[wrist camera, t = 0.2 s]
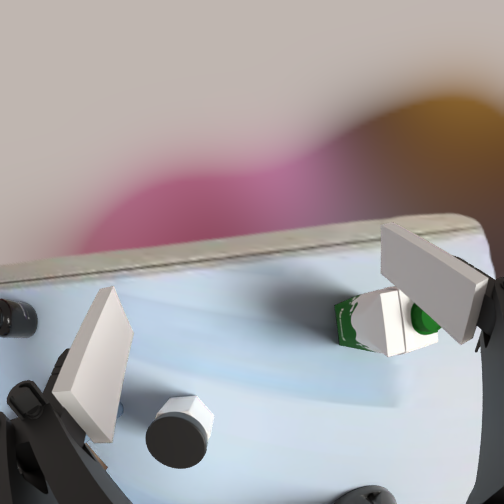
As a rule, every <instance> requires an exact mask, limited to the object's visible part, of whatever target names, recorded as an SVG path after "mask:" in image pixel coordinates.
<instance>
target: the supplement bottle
mask: <svg viewBox="0 0 504 504" xmlns="http://www.w3.org/2000/svg"><path fill="white" fill-rule="evenodd" d="M37 324H38V320H37V315H36V312H35V310H34V308H33V307H32V306H31V305H29V304H27V303H23V302H17V301H12V300H7V299H0V337H2V338H29V337H31V336H32V335H33V334H34V333H35V331H36V329H37Z"/></svg>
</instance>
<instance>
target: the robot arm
mask: <svg viewBox="0 0 504 504" xmlns="http://www.w3.org/2000/svg"><path fill="white" fill-rule="evenodd" d="M381 274H382V275H383V276H384V277H385V278H387V279H388V280H389V281H390V282H391V283H393V284H394V285H395V286H396V287H397V288H398V289H399V290H401V291H402V292H403V293H404V294H405V295H406V296H407V297H409V298H410V299H411V300H412V301H413V302H414V303H415V304H417V305H418V306H419V307H420V308H421V309H422V310H423V311H424V312H425V313H427V314H428V315H429V316H430V317H431V318H432V319H433V320H434V321H435V322H436V323H438V324H439V325H440V326H441V327H442V328H443V329H444V330H445V331H446V332H447V333H448V334H449V335H450V336H451V337H453V338H454V339H455V340H456V341H457V342H458V343H459V344H460V345H462V344H464V343H465V342H467V341H469V340H470V339H472V338H473V336H474V333H475V330H476V326H478V327H479V328H480V329H481V330H482V331H481V334H480V337H479V340H478V343H477V346H476V349H475V352H477V351H478V349H479V347H480V346H481V359H482V381H483V411H482V432H481V445H480V455H479V463H478V471H477V477H476V482H475V485H474V488H473V490H472V492H471V494H470V495H469V497H468V500H467V502H466V504H504V277H500V278H497V279H496V280H494V279H493V278H491V277H490V276H488V275H487V274H485V273H484V272H482V271H481V270H479V269H477V268H474V266H473V265H471V264H468V262H466V261H464V260H463V259H461V258H459V257H456V256H453V255H451V254H449V253H447V252H446V251H444V250H442V249H441V248H439V247H437V246H435V245H434V244H432V243H430V242H429V241H427V240H425V239H423V238H421V237H420V236H418V235H416V234H414V233H412V232H411V231H409V230H407V229H405V228H403V227H401V226H400V225H398V224H396V223H394V222H391V223H387V224H382V225H381ZM133 335H134V332H133V330H132V328H131V326H130V323H129V321H128V319H127V317H126V314H125V312H124V310H123V307H122V305H121V303H120V300H119V298H118V295H117V293H116V290H115V288H114V286H111V287H107V288H102V289H100V290H99V291H98V293H97V295H96V297H95V299H94V301H93V303H92V305H91V307H90V309H89V311H88V313H87V315H86V317H85V319H84V321H83V323H82V325H81V327H80V329H79V331H78V333H77V335H76V337H75V339H74V341H73V344H72V346H71V348H69V349H66V350H65V351H64V352H63V353H62V354H61V355H60V356H59V358H58V360H57V362H56V364H55V368H54V369H53V371H52V373H51V374H52V375H50V378H49V380H48V382H47V385H46V387H45V389H44V392H43V393H42V392H41V391H40V389H39V388H38V387H37V385H36V384H35V383H34V382H33V381H30V380H27V381H22V382H20V383H18V384H17V385H16V386H14V387H13V388H12V390H11V391H10V392H9V394H8V397H7V404H8V405H9V406H10V408H11V409H12V410H13V411H14V412H15V414H16V415H17V416H18V417H19V418H16V419H12V420H9V419H8V418H7V417H6V416H5V414H4V413H3V412H0V504H133V503H132V502H131V501H130V500H129V499H128V498H127V497H126V495H125V494H124V493H123V492H122V491H121V489H120V488H119V487H118V486H117V485H116V483H115V482H114V481H113V480H112V478H111V477H110V476H109V474H108V473H107V472H106V471H105V469H104V468H103V467H102V465H101V464H100V462H99V461H98V460H97V458H96V457H95V456H94V454H93V453H92V451H91V450H90V448H89V447H88V446H87V445H86V444H85V443H84V441H85V436H86V435H87V436H88V437H89V438H90V439H91V440H92V441H93V442H94V443H113V436H114V429H115V423H116V417H117V411H118V406H119V400H120V395H121V390H122V385H123V380H124V375H125V370H126V366H127V361H128V356H129V352H130V348H131V343H132V339H133ZM334 504H397V503H396V500H395V498H394V496H393V495H392V494H391V493H390V492H389V491H388V490H387V489H386V488H384V487H381V486H366V487H361V488H358V489H356V490H353V491H351V492H349V493H347V494H345V495H344V496H342V497H341V498H339V499H338V500H337V501H336V502H335V503H334Z"/></svg>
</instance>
